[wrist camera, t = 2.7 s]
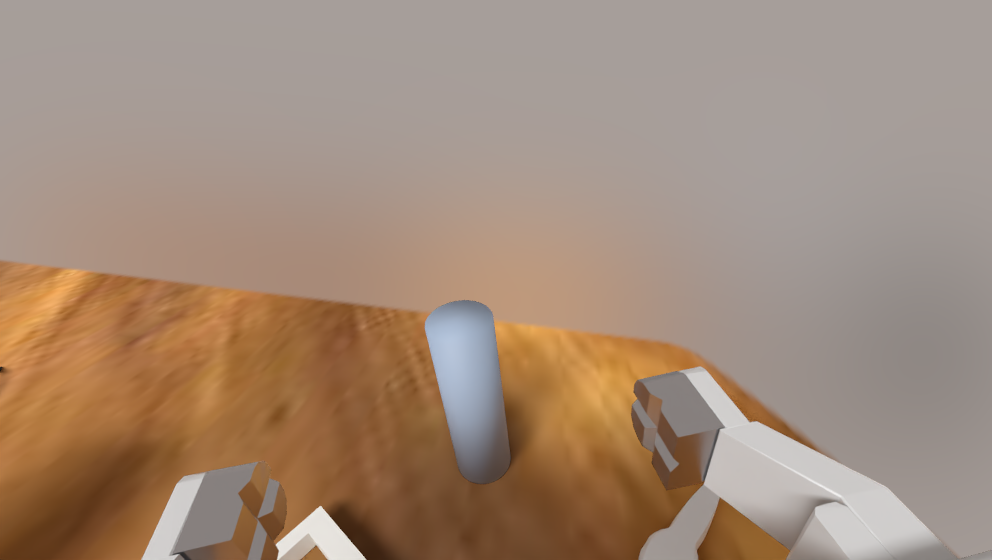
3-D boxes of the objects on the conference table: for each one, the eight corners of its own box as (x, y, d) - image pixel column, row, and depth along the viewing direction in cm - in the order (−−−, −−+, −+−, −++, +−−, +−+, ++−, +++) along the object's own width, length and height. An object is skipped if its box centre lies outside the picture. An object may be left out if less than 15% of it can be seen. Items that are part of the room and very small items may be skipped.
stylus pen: (637, 689, 19) (642, 672, 19) (587, 639, 21) (589, 621, 20) (757, 467, 28) (765, 447, 27) (715, 444, 30) (720, 425, 29)
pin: (521, 454, 30) (507, 315, 23) (486, 494, 28) (459, 354, 21) (482, 427, 32) (459, 292, 25) (446, 463, 30) (410, 326, 23)
